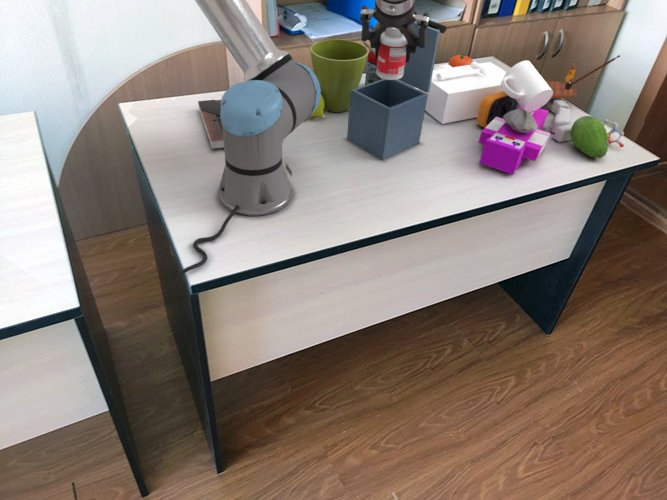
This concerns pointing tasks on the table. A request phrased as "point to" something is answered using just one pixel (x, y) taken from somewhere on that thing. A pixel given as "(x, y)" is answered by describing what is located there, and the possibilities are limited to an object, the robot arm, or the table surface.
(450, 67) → the geometric ball
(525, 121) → the grey rock
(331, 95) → the flower pot
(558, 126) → the grey segmented bar
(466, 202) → the table surface
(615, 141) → the molecular model
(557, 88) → the incense holder
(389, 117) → the blue-grey hollow box
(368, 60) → the beverage can
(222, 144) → the picture frame
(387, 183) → the table surface
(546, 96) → the mug
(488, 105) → the multimeter
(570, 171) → the table surface
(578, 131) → the avocado
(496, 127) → the toy
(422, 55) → the lid
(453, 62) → the pumpkin
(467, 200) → the table surface
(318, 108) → the yellow-green teardrop shape
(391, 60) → the pill bottle
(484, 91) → the tissue box
